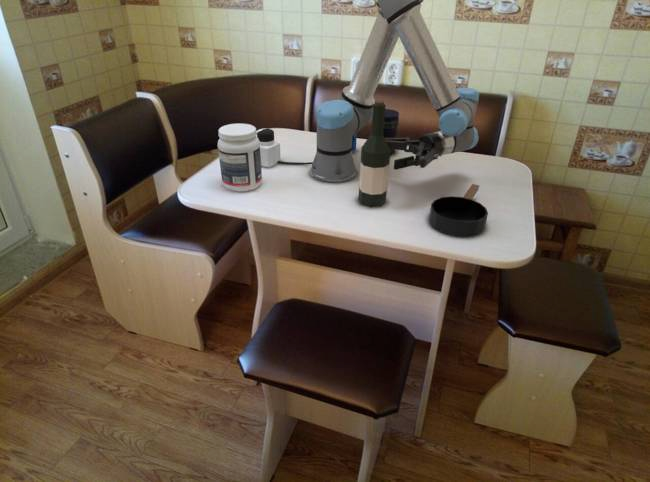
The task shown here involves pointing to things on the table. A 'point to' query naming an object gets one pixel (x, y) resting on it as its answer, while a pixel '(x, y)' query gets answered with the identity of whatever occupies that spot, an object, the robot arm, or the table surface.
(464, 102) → the robot arm
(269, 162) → the medicine bottle
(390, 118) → the storage jar
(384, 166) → the wine bottle
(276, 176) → the table surface
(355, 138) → the beverage can
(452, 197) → the frying pan
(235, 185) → the supplement tub
